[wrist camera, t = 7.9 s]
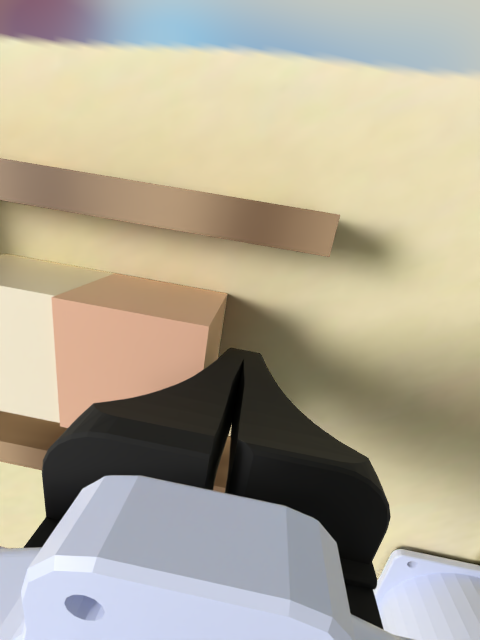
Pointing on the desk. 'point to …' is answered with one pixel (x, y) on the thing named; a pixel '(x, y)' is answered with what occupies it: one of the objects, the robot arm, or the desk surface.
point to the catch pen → (159, 211)
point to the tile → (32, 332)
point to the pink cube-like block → (131, 339)
